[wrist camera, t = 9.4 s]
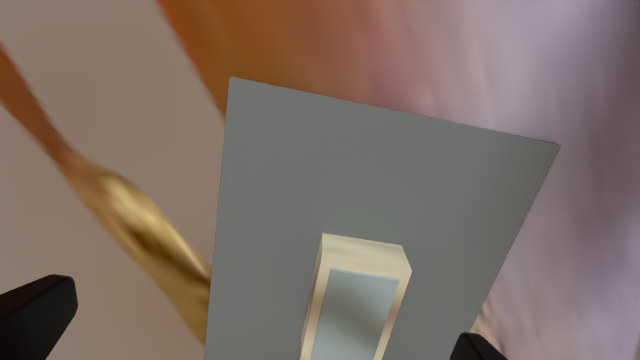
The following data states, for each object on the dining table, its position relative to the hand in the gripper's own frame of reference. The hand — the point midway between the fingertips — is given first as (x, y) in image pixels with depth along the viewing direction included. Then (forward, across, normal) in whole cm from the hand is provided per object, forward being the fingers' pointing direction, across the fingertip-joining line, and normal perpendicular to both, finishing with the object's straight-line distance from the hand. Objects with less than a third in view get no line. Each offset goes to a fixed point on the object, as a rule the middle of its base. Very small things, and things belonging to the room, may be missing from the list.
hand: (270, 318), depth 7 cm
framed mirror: (+11, -4, +8) cm, 15 cm away
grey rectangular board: (+12, -4, +8) cm, 15 cm away
